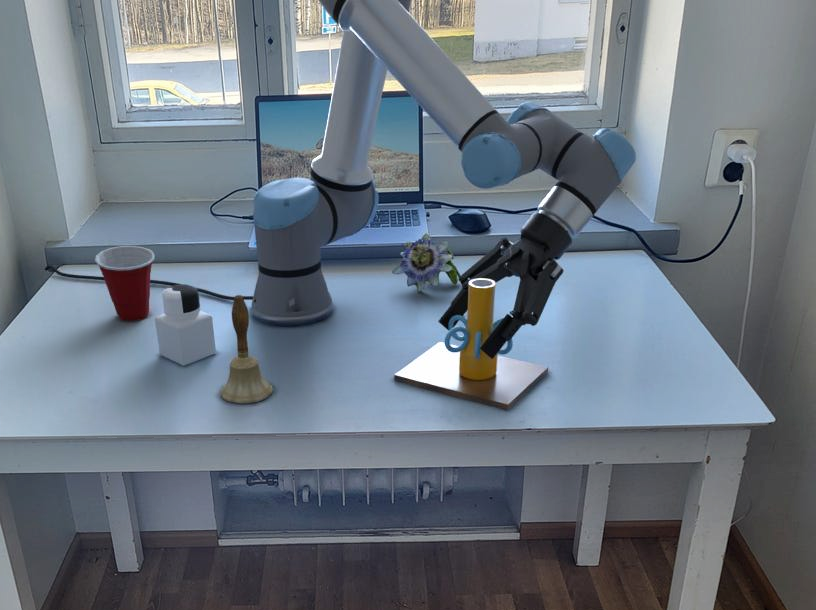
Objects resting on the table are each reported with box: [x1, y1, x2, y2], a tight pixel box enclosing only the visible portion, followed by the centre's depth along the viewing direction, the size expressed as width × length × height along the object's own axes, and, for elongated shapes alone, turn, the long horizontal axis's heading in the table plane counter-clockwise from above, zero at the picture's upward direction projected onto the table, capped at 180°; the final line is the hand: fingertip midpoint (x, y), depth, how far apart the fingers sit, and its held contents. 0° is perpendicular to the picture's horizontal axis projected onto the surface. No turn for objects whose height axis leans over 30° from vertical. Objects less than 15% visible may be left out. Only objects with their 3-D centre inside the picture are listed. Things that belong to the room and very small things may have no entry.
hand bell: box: [220, 294, 274, 405], centre depth 142 cm, size 8×8×16 cm
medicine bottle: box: [154, 284, 217, 367], centre depth 156 cm, size 7×7×12 cm
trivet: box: [393, 341, 549, 411], centre depth 148 cm, size 20×15×1 cm
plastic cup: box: [94, 245, 155, 322], centre depth 171 cm, size 11×11×12 cm
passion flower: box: [392, 232, 461, 293], centre depth 182 cm, size 11×11×12 cm
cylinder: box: [444, 278, 514, 380], centre depth 143 cm, size 12×10×15 cm
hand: (464, 339), depth 143 cm, fingers closed on cylinder, 11 cm apart
